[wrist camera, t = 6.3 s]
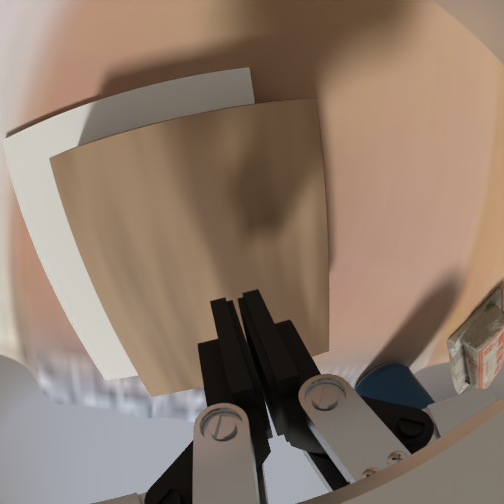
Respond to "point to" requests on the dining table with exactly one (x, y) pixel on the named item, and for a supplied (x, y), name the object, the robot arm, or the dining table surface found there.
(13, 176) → the mat
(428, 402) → the soda can
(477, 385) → the packaged product
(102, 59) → the dining table surface
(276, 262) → the wooden block
